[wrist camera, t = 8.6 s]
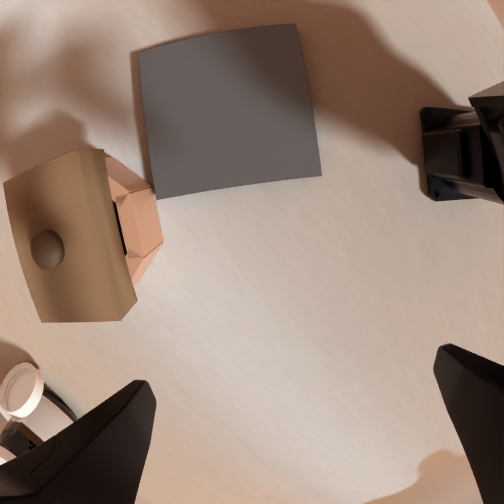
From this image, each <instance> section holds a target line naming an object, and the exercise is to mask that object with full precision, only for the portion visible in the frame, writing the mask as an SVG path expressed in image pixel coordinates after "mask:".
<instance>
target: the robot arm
mask: <svg viewBox="0 0 504 504" xmlns="http://www.w3.org/2000/svg"><path fill="white" fill-rule="evenodd" d="M468 99H469V101H470V103H471V106H472V107H474V109H475V111H476V112H469V111H462V110H454V109H445V108H434V107H425V108H422V109H421V111H420V117H421V123H422V130H423V136H422V140H423V149H424V159H425V171H426V173H427V183H428V196H429V198H430V199H431V200H433V201H447V200H460V199H474V198H481V199H485V200H489V201H492V202H496V203H500V204H503V205H504V81H503V82H501V83H499V84H496V85H494V86H492V87H490V88H488V89H485V90H483V91H481V92H479V93H477V94H474V95H472V96H470V97H468ZM426 112H428V114H429V117H427V116H426ZM435 191H436V196H435V197H434V192H435ZM433 370H434V375H435V377H436V380H437V383H438V386H439V389H440V391H441V394H442V397H443V400H444V403H445V406H446V409H447V411H448V414H449V416H450V418H451V420H452V423H453V425H454V427H455V429H456V432H457V434H458V436H459V439H460V441H461V443H462V446H463V448H464V451H465V453H466V456H467V458H468V461H469V463H470V466H471V469H472V471H473V474H474V477H475V479H476V482H477V485H478V488H479V491H480V494H481V497H482V500H483V503H484V504H504V366H503V365H500V364H498V363H496V362H493V361H491V360H489V359H486V358H484V357H482V356H479V355H477V354H475V353H472V352H470V351H467V350H465V349H463V348H460V347H458V346H456V345H454V344H451V343H449V344H445V345H442V346H440V347H439V348H438V350H437V355H436V359H435V363H434V367H433ZM155 411H156V398H155V396H154V394H153V392H152V389H151V387H150V385H149V383H148V382H147V381H146V380H134V381H132V382H131V383H129V384H128V385H127V386H125V387H124V388H122V389H121V390H120V391H118V392H117V393H115V394H114V395H112V396H111V397H110V398H108V399H107V400H105V401H104V402H102V403H101V404H100V405H98V406H97V407H95V408H94V409H92V410H91V411H89V412H88V413H87V414H85V415H84V416H82V417H81V418H79V419H78V420H76V421H75V422H73V423H72V424H70V425H69V426H67V427H66V428H64V429H63V430H61V431H60V432H58V433H57V434H56V435H54V436H52V437H51V438H49V439H48V440H46V441H45V442H43V443H41V444H40V445H38V446H36V447H35V448H33V449H31V450H29V451H27V452H25V453H24V454H22V455H20V456H18V457H16V458H14V459H12V460H10V461H8V462H5V463H3V464H1V465H0V504H134V503H135V499H136V495H137V491H138V487H139V483H140V480H141V476H142V472H143V468H144V465H145V461H146V457H147V454H148V450H149V446H150V442H151V436H152V429H153V423H154V417H155Z"/></svg>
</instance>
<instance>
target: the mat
mask: <svg viewBox="0 0 504 504" xmlns="http://www.w3.org/2000/svg"><path fill="white" fill-rule="evenodd" d="M138 56H139V70H140V82H141V93H142V103H143V112H144V120H145V128H146V136H147V143H148V150H149V157H150V163H151V170H152V176H153V182H154V187H155V193H156V199H157V200H160V199H165V198H170V197H175V196H181V195H187V194H192V193H198V192H204V191H210V190H216V189H223V188H229V187H236V186H242V185H249V184H257V183H264V182H272V181H280V180H288V179H297V178H306V177H316V176H322V173H321V164H320V157H319V149H318V142H317V135H316V128H315V122H314V115H313V109H312V103H311V97H310V92H309V86H308V81H307V75H306V70H305V65H304V60H303V55H302V51H301V46H300V41H299V37H298V33H297V28H296V24H283V25H271V26H261V27H252V28H244V29H237V30H231V31H225V32H219V33H214V34H209V35H204V36H199V37H195V38H190V39H186V40H182V41H178V42H174V43H170V44H167V45H163V46H160V47H156V48H153V49H150V50H147V51H144V52H140V53H138Z"/></svg>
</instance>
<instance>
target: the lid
mask: <svg viewBox="0 0 504 504" xmlns="http://www.w3.org/2000/svg"><path fill="white" fill-rule="evenodd" d="M3 186H4V192H5V199H6V204H7V210H8V215H9V220H10V224H11V229H12V233H13V237H14V241H15V245H16V249H17V253H18V256H19V260H20V263H21V267H22V270H23V273H24V276H25V279H26V282H27V285H28V288H29V291H30V294H31V297H32V300H33V302H34V305H35V307H36V310H37V313H38V315H39V318H40V320H41V322H103V321H121V320H122V319H123V317H124V316H125V315H126V314H127V313H128V311H129V310H130V309H131V308H132V307H133V305H134V304H135V303H136V302H137V301H138V300H137V297H136V294H135V290H134V287H133V284H132V280H131V277H130V273H129V269H128V266H127V262H126V258H125V254H124V250H123V246H122V242H121V238H120V234H119V230H118V225H117V221H116V216H115V211H114V206H113V201H112V196H111V191H110V185H109V180H108V174H107V167H106V161H105V154H104V149H77V150H75V151H72V152H70V153H67V154H65V155H62V156H60V157H57V158H55V159H53V160H50V161H48V162H46V163H43V164H41V165H39V166H37V167H34V168H32V169H30V170H28V171H26V172H24V173H22V174H20V175H18V176H16V177H14V178H12V179H10V180H8V181H6V182H4V183H3Z"/></svg>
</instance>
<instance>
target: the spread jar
mask: <svg viewBox="0 0 504 504" xmlns="http://www.w3.org/2000/svg"><path fill="white" fill-rule="evenodd" d="M43 388H44V381H43V377H42V375H41V373H40V372H39V371H38V370H37V369H36V368H35V367H34V366H33V365H32V364H30V363H21V364H19V365H17V366H15V367H14V368H13V369H12V370H11V371H10V372H9V373H8V375H7V376H6V377H5V379H4V381H3V383H2V386H1V389H0V404H1V406H2V408H3V409H4V410H5V411H6V412H8V413H9V414H10V415H11V416H12V418H11V419H10V420H9V422H8V423H7V424H6V426H5V427H4V428H3V430H2V432H1V434H0V465H1V464H3V463H5V462H8V461H10V460H12V459H14V458H16V457H18V456H20V455H22V454H24V453H25V452H27V451H29V450H31V449H33V448H35V447H36V446H38V445H40V444H41V443H43V442H45V441H46V440H48V439H49V438H51V437H52V436H54V435H56V434H57V433H58V432H60V431H61V430H63V429H64V428H66V427H67V426H69V425H70V424H72V423H73V422H75V421H76V420H77V418H76V417H75V415H74V414H73V412H72V411H71V410H70V409H69V408H68V407H67V406H66V405H65V404H64V403H63V402H62V401H60V400H59V399H58V398H56V397H55V396H53V395H51V394H50V393H47V392H45V391H43Z"/></svg>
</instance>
